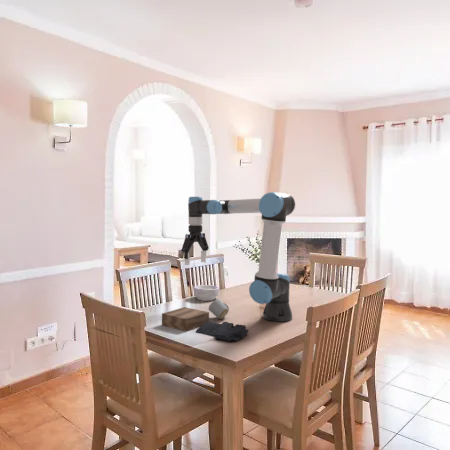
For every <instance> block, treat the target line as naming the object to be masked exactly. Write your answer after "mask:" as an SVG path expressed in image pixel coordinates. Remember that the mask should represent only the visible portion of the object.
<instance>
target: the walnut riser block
mask: <svg viewBox="0 0 450 450" xmlns="http://www.w3.org/2000/svg"><path fill="white" fill-rule="evenodd" d="M206 322H210V311H206V310H199V309H196V308H195V309H194V308H191V307H190V308H189V307H180V308H177V309H173V310H170V311H167V312H162V313H161V326H164V327H168V328H172V329H175V330H179V331H184V332H190V331H192V330H194V329H195V330H196V329H198V328H200V327H201V326H202V325H203V324H204V323H206Z"/></svg>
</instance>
